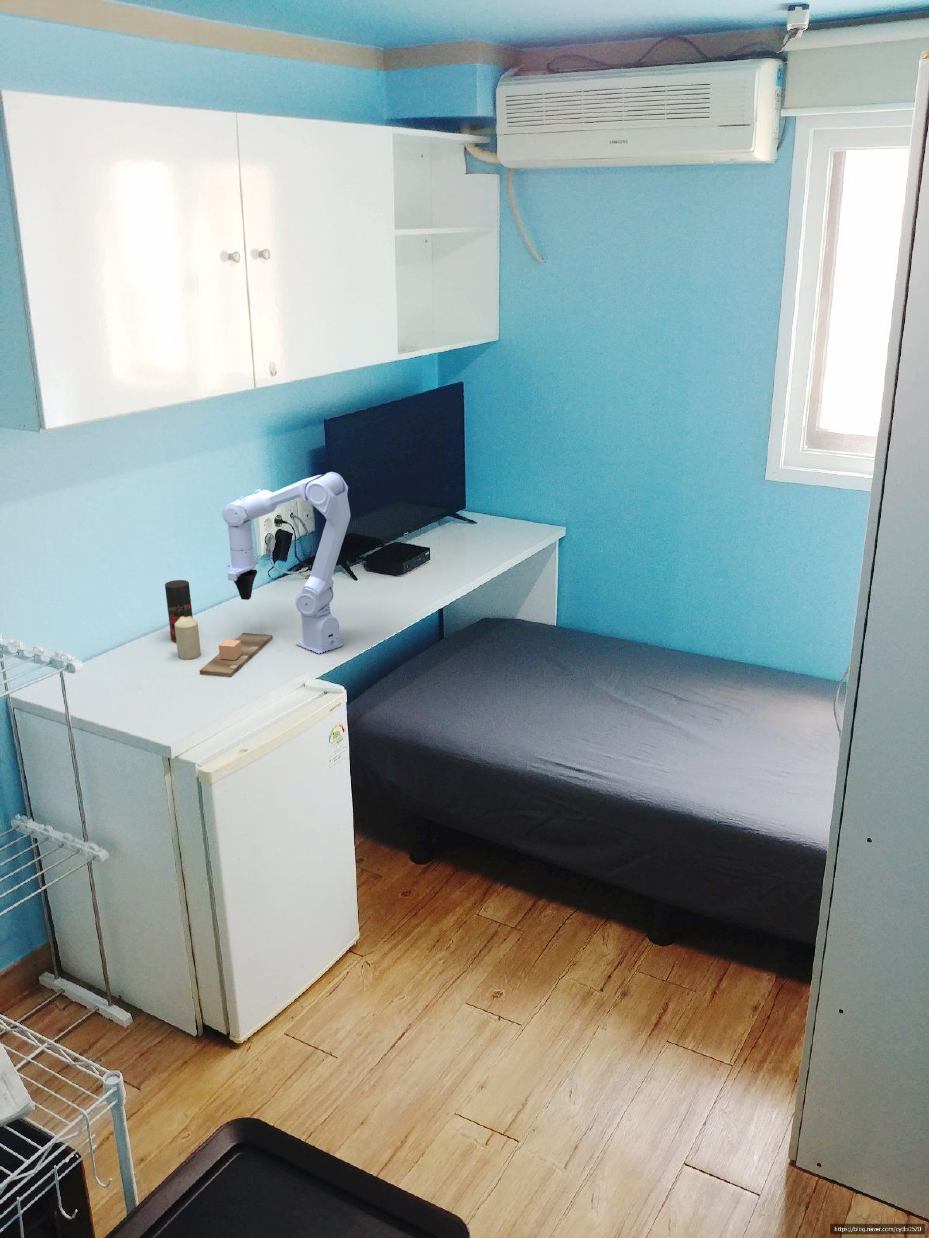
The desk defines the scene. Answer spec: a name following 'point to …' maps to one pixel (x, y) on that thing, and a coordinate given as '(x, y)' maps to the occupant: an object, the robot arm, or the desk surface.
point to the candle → (187, 638)
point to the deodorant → (177, 603)
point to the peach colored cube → (230, 649)
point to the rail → (229, 667)
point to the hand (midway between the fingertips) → (246, 598)
